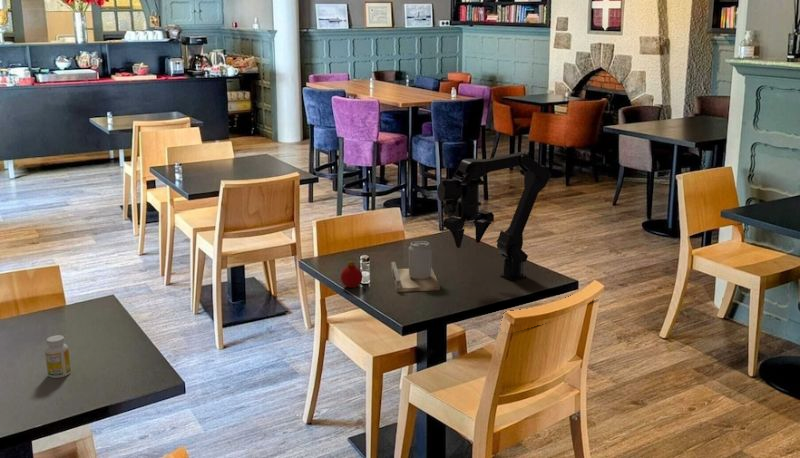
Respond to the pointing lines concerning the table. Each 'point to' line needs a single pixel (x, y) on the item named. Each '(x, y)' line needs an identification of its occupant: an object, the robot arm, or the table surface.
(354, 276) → the christmas ornament
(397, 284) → the beige tray
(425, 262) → the can
